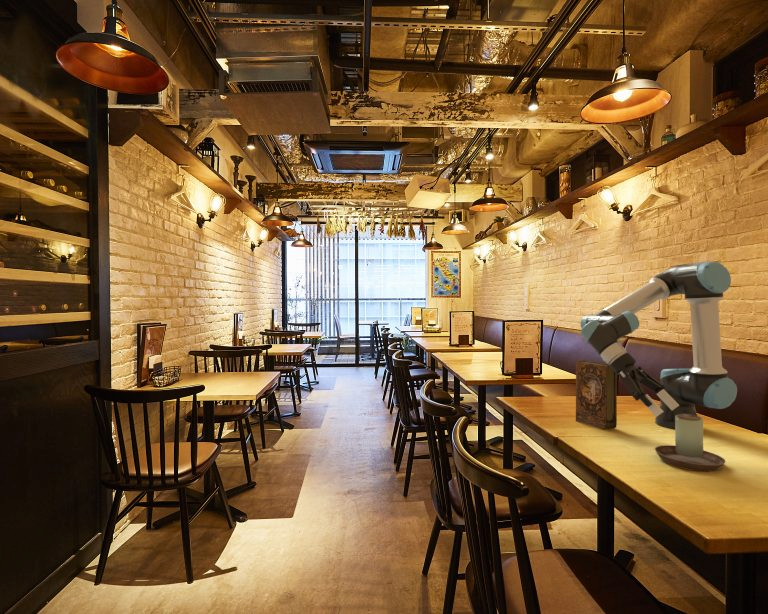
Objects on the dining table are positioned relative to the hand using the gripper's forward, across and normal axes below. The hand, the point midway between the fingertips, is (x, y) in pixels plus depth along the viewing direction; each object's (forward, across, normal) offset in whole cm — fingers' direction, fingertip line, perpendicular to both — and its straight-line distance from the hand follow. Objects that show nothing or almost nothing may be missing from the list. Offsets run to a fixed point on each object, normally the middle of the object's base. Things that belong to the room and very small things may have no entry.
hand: (668, 411), depth 138 cm
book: (-13, -22, -34) cm, 43 cm away
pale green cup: (+12, 0, -4) cm, 13 cm away
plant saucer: (+15, 0, -7) cm, 16 cm away
